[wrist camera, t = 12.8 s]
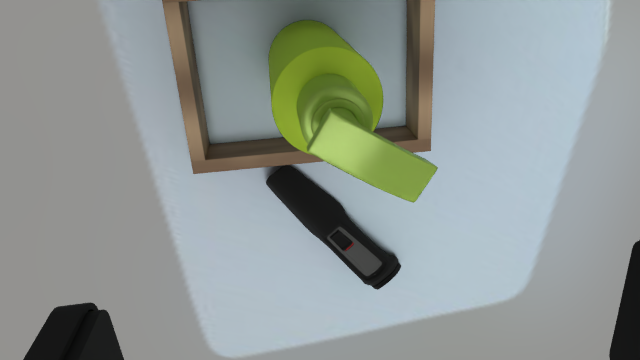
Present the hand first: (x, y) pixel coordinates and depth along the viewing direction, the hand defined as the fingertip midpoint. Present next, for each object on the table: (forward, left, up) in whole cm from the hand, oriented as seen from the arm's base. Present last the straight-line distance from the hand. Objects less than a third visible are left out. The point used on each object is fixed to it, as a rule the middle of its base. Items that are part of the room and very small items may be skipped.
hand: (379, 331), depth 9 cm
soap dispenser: (+1, +2, -32) cm, 32 cm away
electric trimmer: (+15, +2, -32) cm, 36 cm away
